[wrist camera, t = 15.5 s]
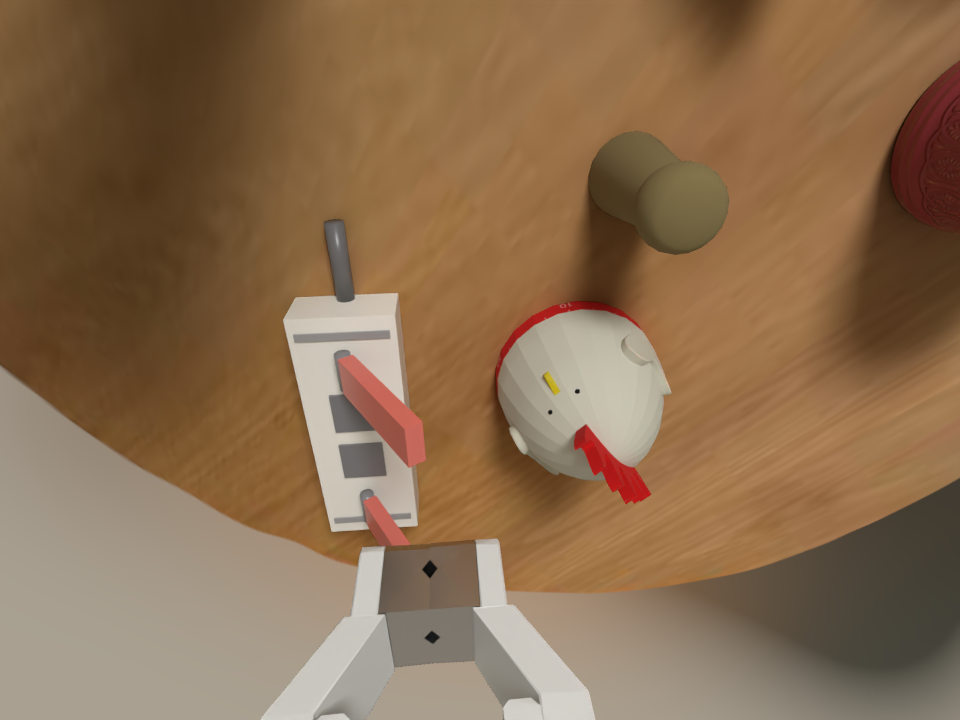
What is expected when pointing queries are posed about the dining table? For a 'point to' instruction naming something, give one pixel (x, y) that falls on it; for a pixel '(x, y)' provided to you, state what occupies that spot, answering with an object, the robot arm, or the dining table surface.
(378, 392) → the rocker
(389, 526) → the rocker
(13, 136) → the dining table surface
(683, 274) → the dining table surface
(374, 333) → the power strip
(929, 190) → the canister
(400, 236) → the dining table surface
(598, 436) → the kitchen timer
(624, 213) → the cork
